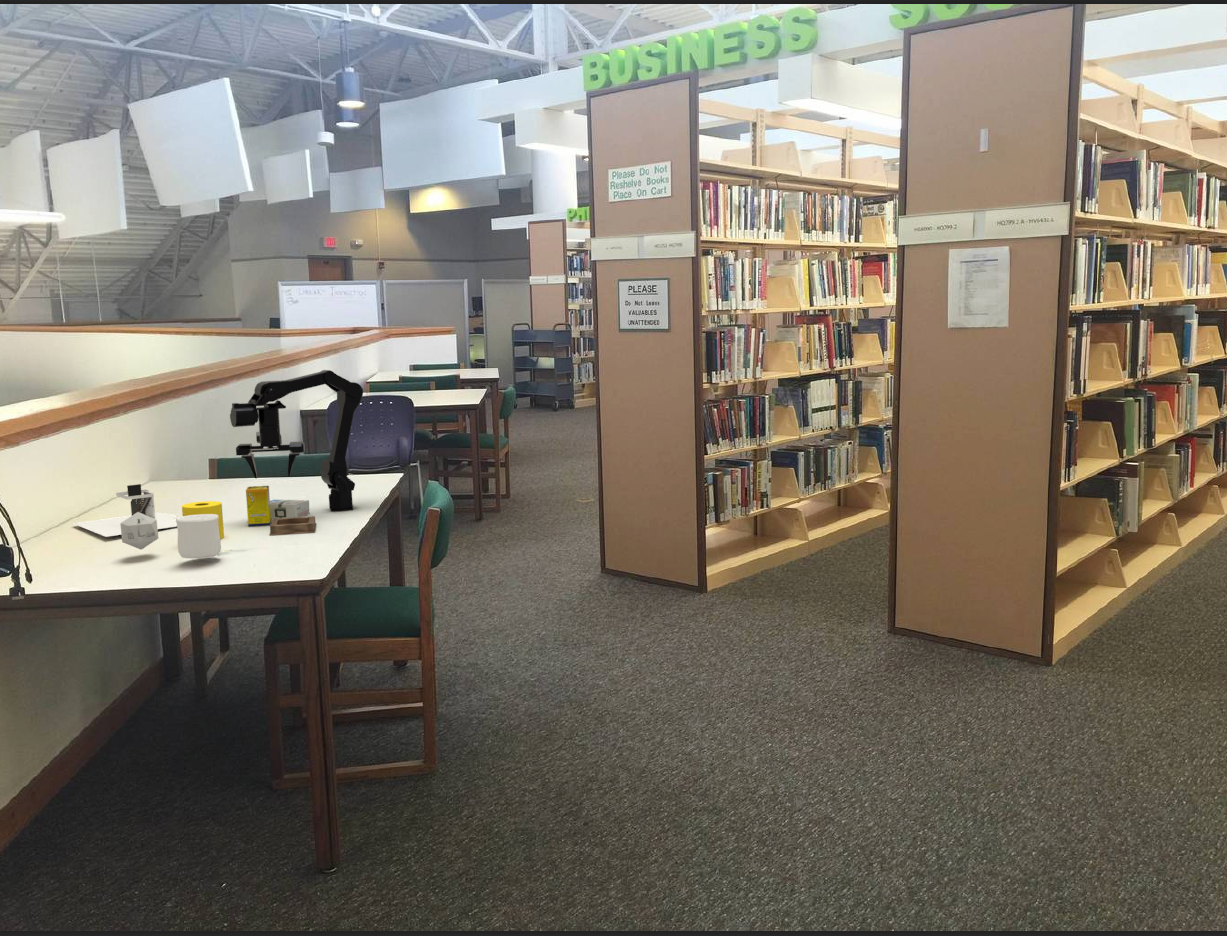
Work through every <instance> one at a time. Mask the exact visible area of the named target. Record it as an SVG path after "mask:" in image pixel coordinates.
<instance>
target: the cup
mask: <svg viewBox="0 0 1227 936" xmlns="http://www.w3.org/2000/svg"><path fill="white" fill-rule="evenodd" d="M218 517H219V516H218V515H216V514H199V515H189V516H183V515H182V516H177V518H176V523H177V526H176V528H177V549H178V554H179V556H180V557H181V558H182V559H205V558H206V559H207V558H210V557H216V556H218V555H219V554H220V553H221V551H222V550H221V549H222V543H221V542H222V540H221V539H220V534H219V526H218Z"/></svg>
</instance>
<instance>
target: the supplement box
mask: <svg viewBox="0 0 1227 936" xmlns="http://www.w3.org/2000/svg"><path fill="white" fill-rule="evenodd" d="M245 497H246V511H247V523H248V528H252V527H253V528H254V527H268V526H269V527H270V525H271V523H272V520H271V512H270V501H271V500H270V499H271V498H270V497H271V496H270V485H257V486H255V485H253V486H247V487H246V489H245Z"/></svg>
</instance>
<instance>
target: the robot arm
mask: <svg viewBox="0 0 1227 936" xmlns="http://www.w3.org/2000/svg"><path fill="white" fill-rule="evenodd" d="M324 385H326V386H327V387H329V388H330V389H331V390H332V391H334V392H335V393H336V402H337V409H338V412H337V416H336V417H337V418H336V423H335V427H334V433H333V439H332V444H331V448H330V449H331V450H330V454H329V456H328V458H327V460H325V459H322V460H321V468H320V471H319V474H320V477H321V480H322V481H323V482H324V483H325V484H326V485H327V488H328V489H329V490H330V493H329V494H328V507H329V509H330V511H331V512H340V511H343V512H344V511H353V510H354V505H353V491H354V490H355V486H356V483H355V482H354V481H353V480H352V479H351V478H349V477H348V465H347V453H348V452H347V451H348V446H349V442H350V441H349V440H350V436H351V430H352V424H353V419H354V414H355V413H356V410H357V409H358V408H359V405H360V403H361V400H362V398H363V396H364V389H363V387H362V386H361V385H360V384H359V383H357V382H353V381H352V382H351V381H350V380H349V379H346V378H344V377H342V376H340V375H339V374H337V373H335V372H334V371H333V370H330V369H329V370H328V369H323V370H321V371H318V372H314V373H309V374H305V375H302V376H297V377H293V378H289V379H285V380H284V379H283V380H264V381H263V380H262V381H260V382H258V383H257V384H256V385H255V387H254V389H253V390H254V393H253V394H252V396H251V397H250V399H249V400H248V401H247V402H245V403H242V402H241V403H238V402H232V404H231V410H230V414H229V418H230V419H229V420H230V424H231V426H232V427H233V428H243V427H254V426H255V425H256V423H258V430H259V431H256V436H255V437H256V443H257V444H259V445H253V444H252V443H239V444H238V445H237V446H236V447H235V452H236V453H235V454H236V456H240V457H241V459H245V461H246V463H247V464H248V466H249V468H250V470H251V472H252V474H253V476H254V478H255V479H258V472H257V466H256V461H255V453H263V452H264V453H265V452H287V451H289V454H288V465H287V475H288V476H287V477H290V476H291V473H292V469H293V465H294V462H295V460H296V457H297V456H299V457H300V455H301V453H305V451H306V449H305V448H306V447H305V442H303V441H302V440H301V441H290V442H289V444H282V443H283V442H282V441H283V440H282V434H281V425H280V411H279V410H281V409H286V408H287V406H286V405H284V403H283V402H281V400H280V399H282V398H284V397H286V396H288V395H289V394H292V393H294V392H299V391H302V390H307V389H311V388H315V387H319V386H324ZM272 402H273V403H272ZM264 447H265V448H264Z"/></svg>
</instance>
